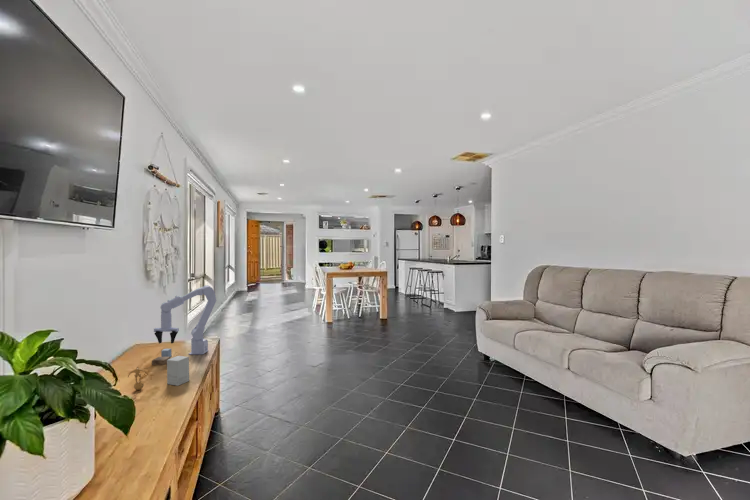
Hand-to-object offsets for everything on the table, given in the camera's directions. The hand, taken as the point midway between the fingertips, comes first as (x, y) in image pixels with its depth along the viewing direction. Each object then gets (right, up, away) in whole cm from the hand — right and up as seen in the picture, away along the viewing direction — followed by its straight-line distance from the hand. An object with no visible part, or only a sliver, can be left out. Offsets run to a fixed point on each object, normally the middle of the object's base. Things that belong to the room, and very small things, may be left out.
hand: (166, 343), depth 224 cm
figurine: (+16, -10, -51) cm, 54 cm away
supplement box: (+30, -10, -40) cm, 51 cm away
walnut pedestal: (+3, -10, -10) cm, 14 cm away
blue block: (0, -9, 0) cm, 9 cm away
